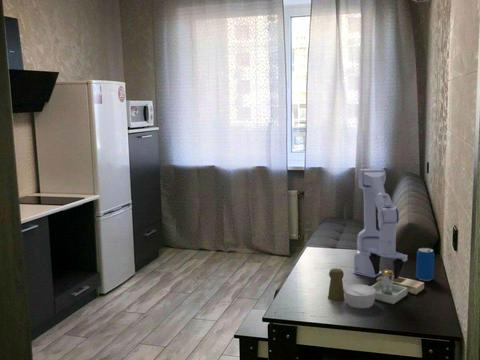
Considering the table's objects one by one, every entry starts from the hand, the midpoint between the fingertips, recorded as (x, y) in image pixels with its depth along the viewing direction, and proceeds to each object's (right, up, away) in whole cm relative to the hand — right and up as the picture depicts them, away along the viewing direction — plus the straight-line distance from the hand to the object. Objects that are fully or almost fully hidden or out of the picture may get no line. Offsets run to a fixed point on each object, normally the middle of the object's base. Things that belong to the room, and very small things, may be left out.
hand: (386, 276), depth 189 cm
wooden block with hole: (+8, -6, +10) cm, 14 cm away
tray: (0, -7, +1) cm, 8 cm away
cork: (-19, -8, 0) cm, 20 cm away
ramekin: (-11, -9, -5) cm, 15 cm away
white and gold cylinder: (+1, -7, +1) cm, 7 cm away
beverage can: (+20, -5, +17) cm, 27 cm away
